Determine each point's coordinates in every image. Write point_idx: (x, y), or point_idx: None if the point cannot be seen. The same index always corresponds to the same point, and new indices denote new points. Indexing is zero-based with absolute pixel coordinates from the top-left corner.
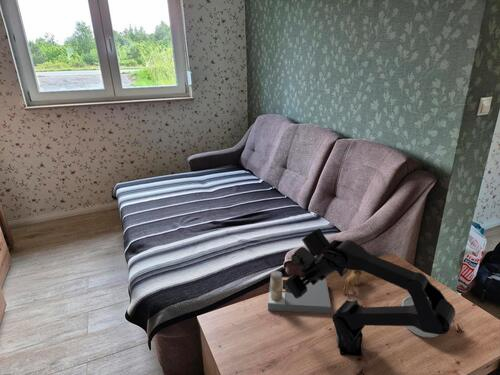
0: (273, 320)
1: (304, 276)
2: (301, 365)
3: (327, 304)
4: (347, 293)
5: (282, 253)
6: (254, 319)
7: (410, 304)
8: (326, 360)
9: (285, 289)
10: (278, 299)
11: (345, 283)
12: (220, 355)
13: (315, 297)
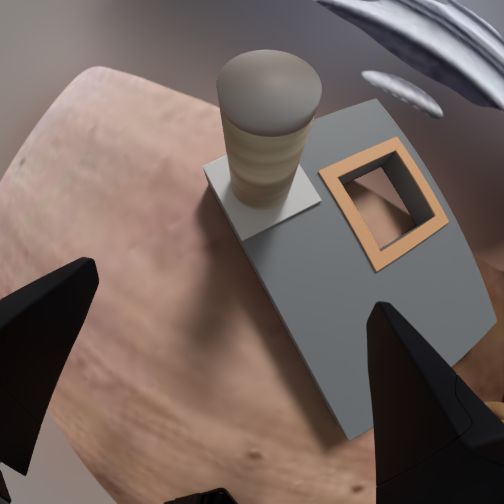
0: (165, 235)
1: (380, 350)
2: (59, 409)
3: (357, 422)
4: None
5: (495, 108)
6: (137, 170)
7: None
8: (117, 471)
9: (76, 264)
10: (241, 199)
11: (493, 411)
12: (3, 185)
13: None
